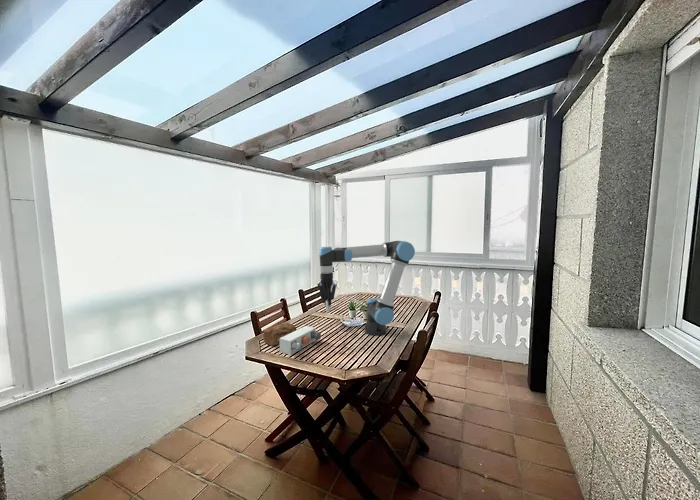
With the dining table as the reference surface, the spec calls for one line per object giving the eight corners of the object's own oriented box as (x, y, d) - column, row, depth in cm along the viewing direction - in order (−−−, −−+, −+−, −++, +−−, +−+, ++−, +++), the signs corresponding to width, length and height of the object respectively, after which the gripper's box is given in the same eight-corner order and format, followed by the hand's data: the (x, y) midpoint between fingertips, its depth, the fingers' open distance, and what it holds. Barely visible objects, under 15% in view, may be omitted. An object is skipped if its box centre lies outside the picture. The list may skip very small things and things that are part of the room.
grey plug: (321, 338, 180) (320, 331, 179) (316, 341, 176) (316, 333, 175) (306, 335, 185) (306, 328, 185) (302, 337, 181) (302, 330, 181)
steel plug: (302, 349, 164) (302, 341, 164) (297, 352, 160) (297, 344, 160) (287, 345, 169) (287, 337, 169) (282, 348, 165) (282, 340, 165)
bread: (272, 347, 173) (271, 331, 172) (262, 342, 180) (262, 327, 179) (297, 338, 186) (297, 323, 185) (287, 334, 193) (287, 319, 193)
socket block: (315, 340, 183) (315, 327, 182) (290, 354, 162) (290, 341, 161) (305, 337, 187) (305, 325, 186) (279, 351, 166) (279, 338, 165)
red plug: (309, 343, 173) (309, 335, 172) (304, 345, 169) (304, 338, 168) (295, 339, 178) (295, 332, 178) (290, 342, 174) (290, 334, 174)
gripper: (339, 271, 173) (340, 310, 175) (321, 271, 180) (322, 307, 182) (332, 274, 167) (334, 313, 169) (314, 272, 173) (315, 311, 175)
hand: (328, 310), depth 175 cm, fingers closed
